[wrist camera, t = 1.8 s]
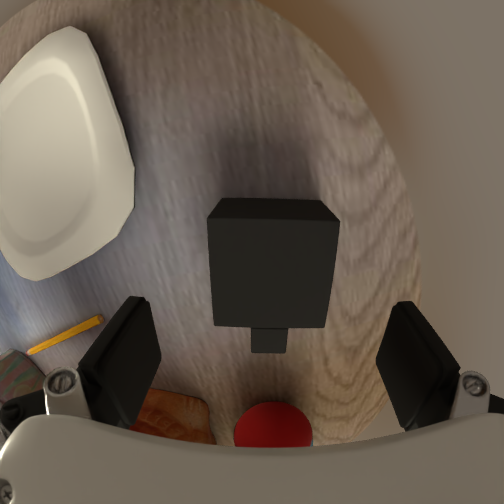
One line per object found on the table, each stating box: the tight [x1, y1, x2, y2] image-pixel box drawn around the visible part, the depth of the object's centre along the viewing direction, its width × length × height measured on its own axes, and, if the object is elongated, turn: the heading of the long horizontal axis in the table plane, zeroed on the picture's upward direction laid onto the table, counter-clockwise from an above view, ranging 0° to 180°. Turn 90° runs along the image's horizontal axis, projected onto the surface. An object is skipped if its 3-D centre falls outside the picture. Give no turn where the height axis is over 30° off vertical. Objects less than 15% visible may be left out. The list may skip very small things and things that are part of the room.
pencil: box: [26, 315, 104, 356], centre depth 22 cm, size 1×18×1 cm, turn 116°
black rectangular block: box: [207, 198, 340, 353], centre depth 15 cm, size 8×6×4 cm
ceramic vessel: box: [129, 388, 216, 445], centre depth 20 cm, size 14×26×15 cm, turn 2°
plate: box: [0, 26, 135, 281], centre depth 14 cm, size 18×18×2 cm
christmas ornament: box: [234, 401, 312, 448], centre depth 19 cm, size 7×7×10 cm
